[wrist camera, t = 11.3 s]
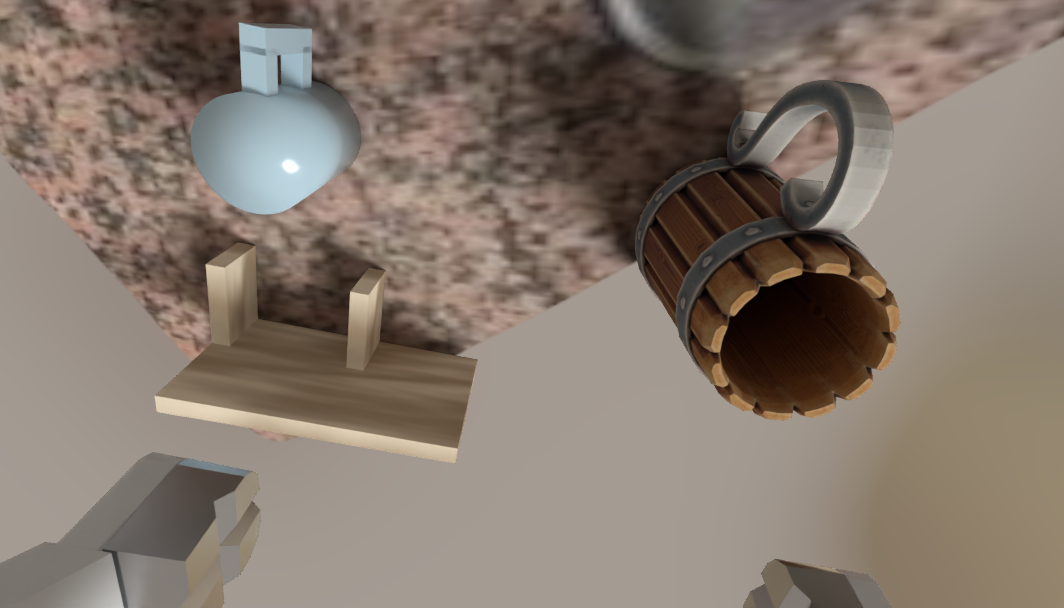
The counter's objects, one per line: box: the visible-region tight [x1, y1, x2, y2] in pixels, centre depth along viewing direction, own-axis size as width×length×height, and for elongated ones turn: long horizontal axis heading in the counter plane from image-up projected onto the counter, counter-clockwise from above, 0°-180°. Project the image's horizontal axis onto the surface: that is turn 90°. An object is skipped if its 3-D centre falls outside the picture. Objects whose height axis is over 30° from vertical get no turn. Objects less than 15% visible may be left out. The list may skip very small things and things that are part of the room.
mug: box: [635, 80, 900, 421], centre depth 29 cm, size 16×11×15 cm
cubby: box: [155, 242, 477, 463], centre depth 35 cm, size 7×18×10 cm, turn 79°
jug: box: [191, 23, 361, 214], centre depth 30 cm, size 9×6×8 cm, turn 169°
